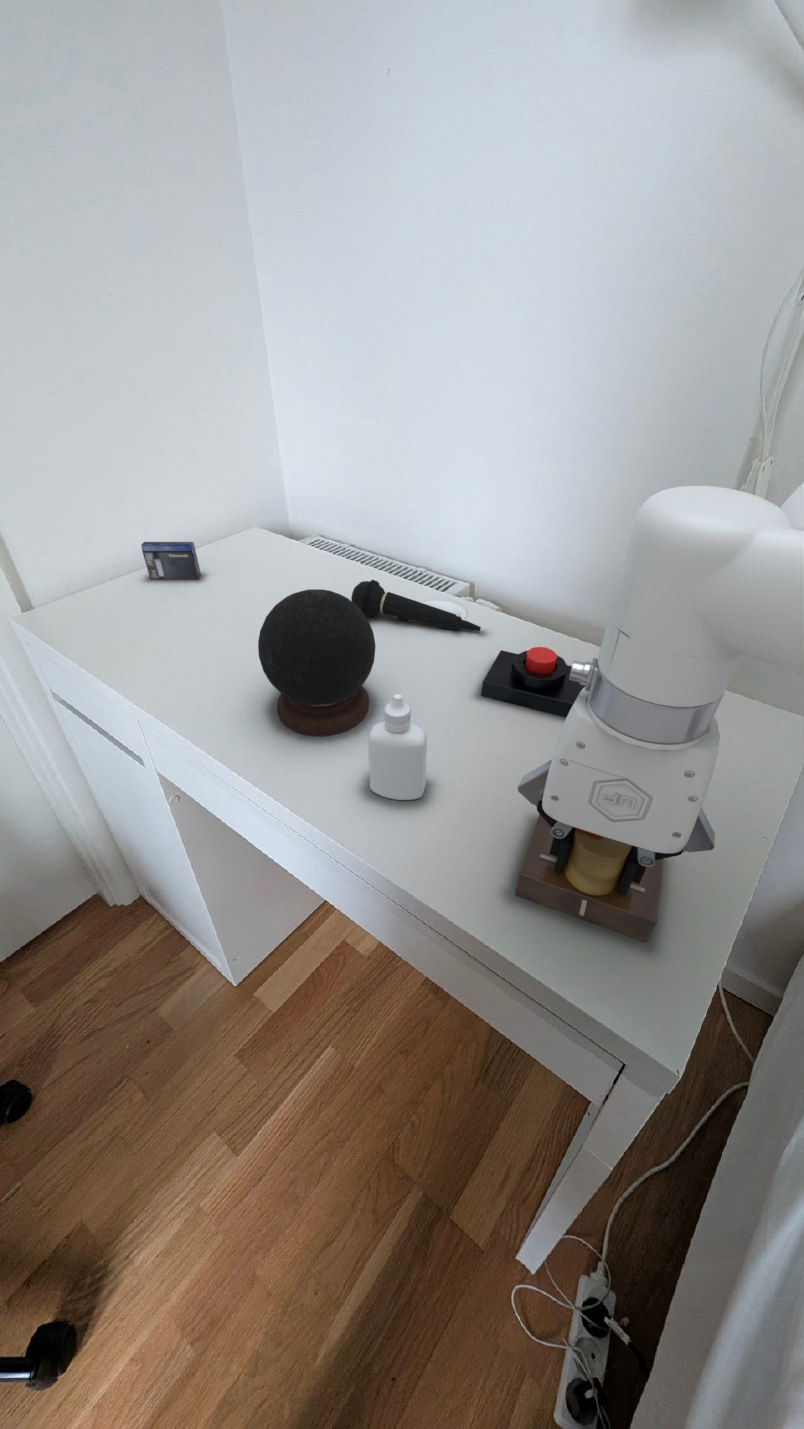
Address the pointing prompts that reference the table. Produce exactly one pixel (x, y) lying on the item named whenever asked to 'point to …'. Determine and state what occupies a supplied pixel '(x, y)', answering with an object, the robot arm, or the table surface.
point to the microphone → (403, 607)
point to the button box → (531, 684)
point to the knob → (595, 862)
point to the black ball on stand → (318, 661)
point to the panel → (607, 910)
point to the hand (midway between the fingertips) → (592, 868)
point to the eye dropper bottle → (397, 754)
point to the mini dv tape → (171, 560)
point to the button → (541, 660)
